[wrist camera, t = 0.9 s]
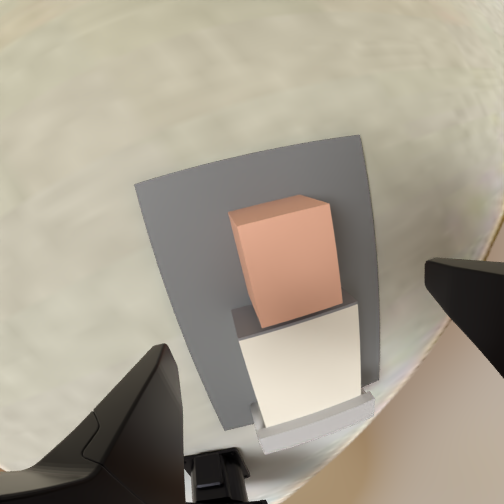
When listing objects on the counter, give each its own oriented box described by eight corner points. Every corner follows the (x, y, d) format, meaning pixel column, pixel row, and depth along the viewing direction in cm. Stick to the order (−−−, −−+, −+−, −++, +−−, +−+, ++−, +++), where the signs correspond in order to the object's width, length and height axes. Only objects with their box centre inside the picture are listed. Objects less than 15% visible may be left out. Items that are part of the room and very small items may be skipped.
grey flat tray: (376, 376, 27) (403, 410, 22) (224, 426, 26) (230, 470, 21) (355, 135, 20) (400, 129, 15) (135, 183, 19) (113, 190, 14)
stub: (314, 275, 22) (343, 303, 17) (248, 294, 22) (261, 328, 17) (299, 194, 20) (329, 203, 16) (227, 211, 20) (236, 226, 15)
